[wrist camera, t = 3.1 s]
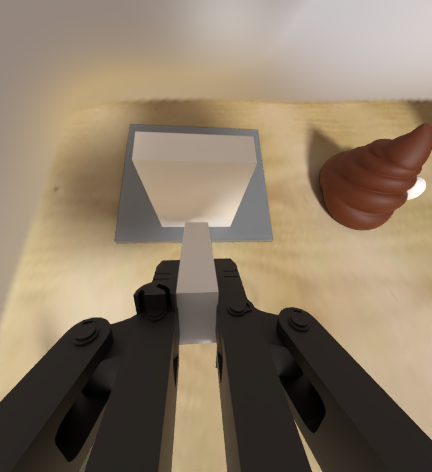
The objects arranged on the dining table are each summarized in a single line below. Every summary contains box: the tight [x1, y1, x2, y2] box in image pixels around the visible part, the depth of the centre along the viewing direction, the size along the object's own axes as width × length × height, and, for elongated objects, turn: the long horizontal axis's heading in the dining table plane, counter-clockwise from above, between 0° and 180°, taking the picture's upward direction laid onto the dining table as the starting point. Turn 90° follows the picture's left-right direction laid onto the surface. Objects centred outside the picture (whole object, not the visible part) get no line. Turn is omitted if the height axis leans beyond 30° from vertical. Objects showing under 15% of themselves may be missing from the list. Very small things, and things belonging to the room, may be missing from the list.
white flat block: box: [132, 131, 257, 227], centre depth 16 cm, size 7×2×10 cm, turn 92°
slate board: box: [114, 124, 273, 243], centre depth 23 cm, size 16×15×1 cm
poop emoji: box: [320, 124, 432, 230], centre depth 20 cm, size 10×8×9 cm
